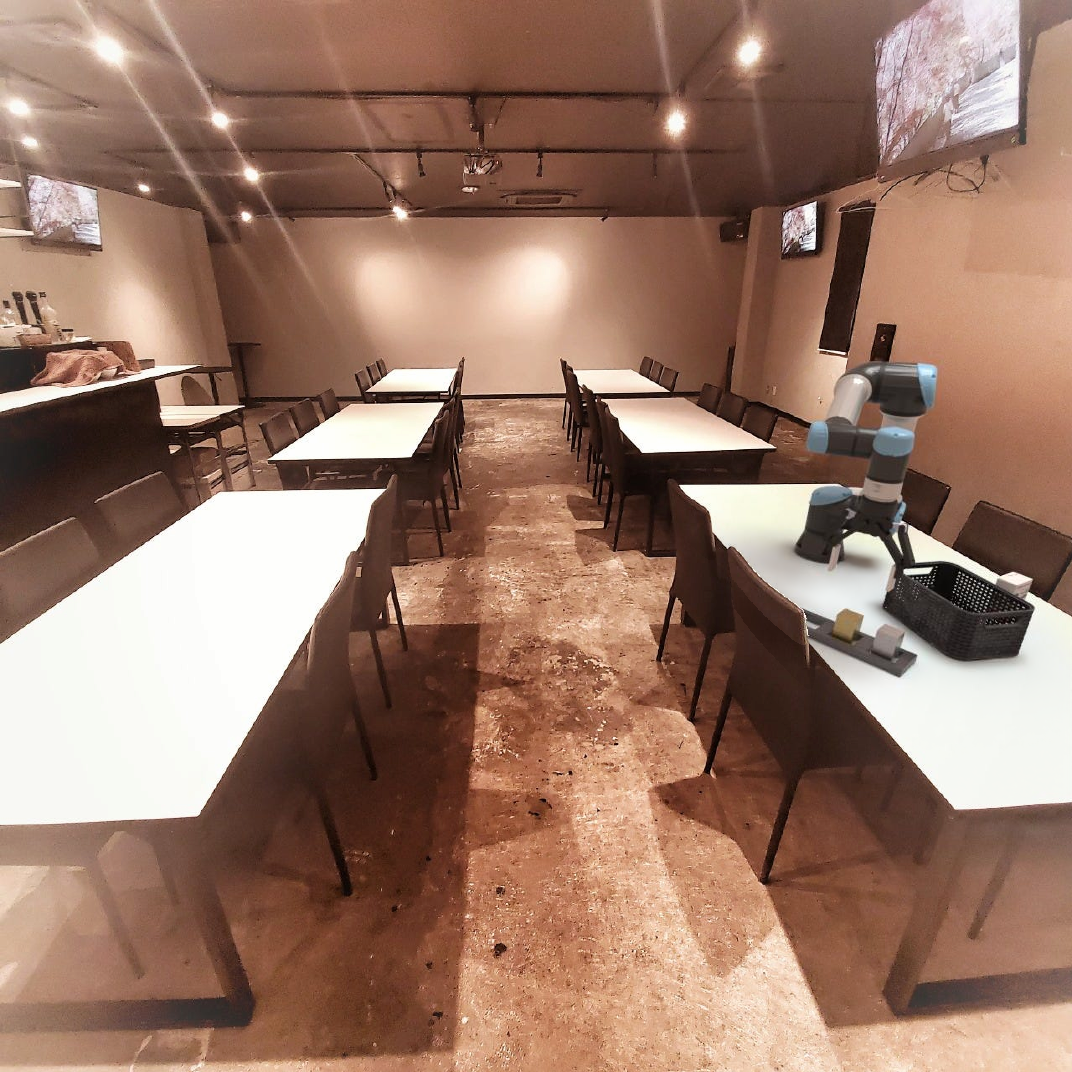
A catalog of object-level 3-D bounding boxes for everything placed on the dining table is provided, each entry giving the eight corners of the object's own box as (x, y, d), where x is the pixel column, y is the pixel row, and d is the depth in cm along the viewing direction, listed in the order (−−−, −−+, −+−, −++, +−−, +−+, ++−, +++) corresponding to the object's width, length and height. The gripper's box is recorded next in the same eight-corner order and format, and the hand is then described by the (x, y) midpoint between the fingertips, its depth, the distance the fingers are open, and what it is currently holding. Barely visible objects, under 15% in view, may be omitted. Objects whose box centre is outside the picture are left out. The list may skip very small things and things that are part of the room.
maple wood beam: (830, 641, 150) (837, 614, 147) (838, 635, 153) (845, 608, 150) (848, 649, 147) (855, 621, 144) (856, 642, 150) (863, 615, 147)
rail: (779, 624, 158) (780, 617, 157) (796, 612, 163) (798, 606, 162) (900, 676, 136) (902, 669, 136) (915, 661, 142) (917, 654, 141)
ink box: (1002, 623, 158) (1017, 585, 154) (983, 615, 162) (996, 577, 158) (1020, 616, 162) (1034, 578, 158) (1000, 608, 166) (1013, 571, 162)
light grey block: (869, 658, 143) (877, 630, 140) (877, 651, 146) (884, 623, 143) (889, 666, 140) (897, 638, 137) (897, 659, 143) (905, 631, 140)
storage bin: (876, 604, 168) (887, 562, 163) (937, 600, 170) (950, 558, 165) (954, 663, 142) (970, 615, 137) (1025, 657, 144) (1044, 610, 139)
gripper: (818, 486, 141) (802, 566, 149) (935, 515, 124) (909, 603, 132) (833, 480, 145) (816, 557, 154) (947, 507, 128) (921, 593, 136)
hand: (859, 579), depth 143 cm, fingers open, 13 cm apart
